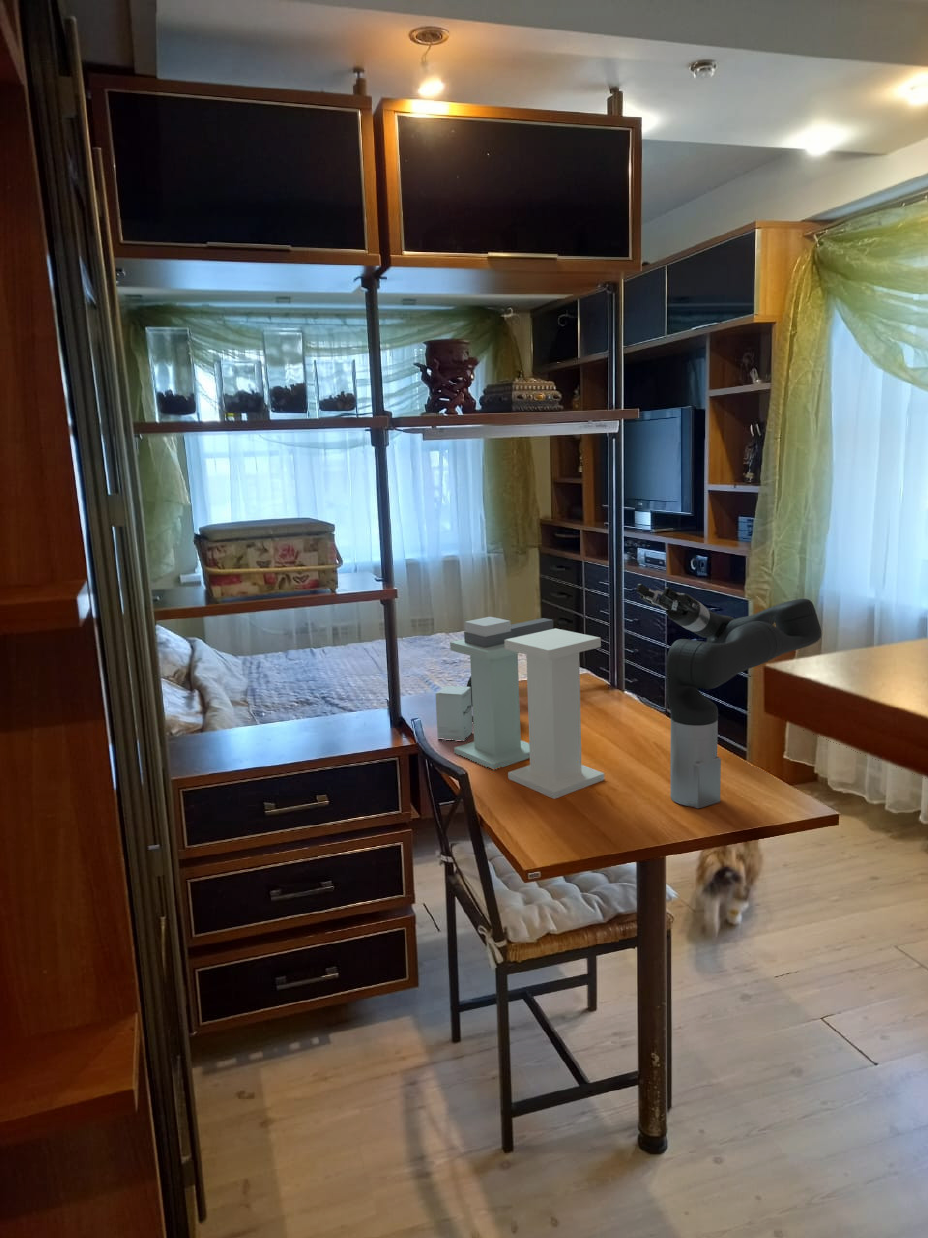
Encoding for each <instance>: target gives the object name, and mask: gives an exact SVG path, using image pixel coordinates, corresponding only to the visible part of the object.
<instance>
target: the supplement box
mask: <svg viewBox="0 0 928 1238" xmlns="http://www.w3.org/2000/svg"><path fill="white" fill-rule="evenodd" d="M434 694H435V711H436V713H435V715H436V728H437V729H436V734H437V736H436V737H437V739H438V738H444V739H451V740H452V739H453V740H461V741H463V740H464V741H466V739H467V738H469V736H471V735H472V734H473V733H474V728H473V724H472V716H473V707H472V703H471V687H466V686H460V685H459V686H457V685H444V686H443V687H442V688H440V689H439V690H438V691H436V692H435V693H434ZM472 732H473V733H472ZM471 733H472V734H471ZM466 737H467V738H466ZM465 738H466V739H465Z"/></svg>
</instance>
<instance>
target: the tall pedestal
mask: <svg viewBox="0 0 928 1238" xmlns="http://www.w3.org/2000/svg"><path fill="white" fill-rule="evenodd" d="M601 641H602V638H601V637H599V636H594V635H590V634H583V633H580V632H575V631H570V630H566V629H560V628H556V627H555V628H553V629H551V630H546V631H542V632H537V633H533V634H528V635H524V636H519V637H515V638H510V639H506V640H504V642H505V649H507V650H511V651H515V652H519V653H518V654H524V655H526V683H527V685H526V686H527V712H528V713H527V714H528V741H529V742H528V743H529V749H530V758H529V765H526V766H525V765H524V766H523V767H520V768H517V769H513V770H511V771H508V773H507V777H508V780H509V781H513V782H515V783H517V784H519V785H522V786H524V787H526V788H528V789H531V790H532V791H535V792H538V793H540V794H542V795H543V796H547V797H548V798H551V799H554V800H555V799H559V798H560V797H563V796H566V795H568V794H571V793H575V792H576V791H579V790H581V789H584V788H586V787H589V786H592V785H594V784H597V783H599V782H602V781H604V780H605V773H604V772H602V771H599V770H598V769H594V768H592V767H588V766H586V765H584V764H582V735H581V734H582V733H581V732H582V731H581V730H582V728H581V727H582V724H581V723H582V722H581V719H582V718H581V683H580V682H581V681H580V680H581V677H580V676H581V675H580V673H581V672H580V653H582V652H585V651H589V650H594V649H599V648H601V647H602V643H601Z"/></svg>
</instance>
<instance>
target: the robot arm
mask: <svg viewBox="0 0 928 1238" xmlns="http://www.w3.org/2000/svg"><path fill="white" fill-rule="evenodd" d="M635 592H636V593H637V594H639V599H641V600H643V601H644V602H646V603H647V604H649V605H651V606H653V607H656V606H658V607H660V608H661V609H663V610H665V612H666V613H665V614H666V615H667V617H668V618H669V620H671V621H672V622H674V623H676V624H677V625H679V626H681V628H684V629H685V630H688V631H690V632H692V633H694V634H696V635H697V636H699V637H701V638H704V639H705V638H706V641H700V640H696V639H694V640H693V639H689V638H688V639H687V638H679V639H677V640H675V641H674V642H673V643H672V644H671V646H670V647H669V650H668V651H667V655H666V666H665V669H666V671H665V672H666V674H665V675H666V676H665V677H666V691H667V692H666V693H667V704H668V708H669V710H670V711H669V712H670V774H669V775H670V799H671V800H672V802H675V803H676V804H680V805H682V806H684V807H685V806H686V807H693V808H695V809H701V808H704V807H707V806H711V805H714V804H715V805H716V804H719V803H720V802H721V778H722V777H721V775H722V774H721V770H722V768H721V767H722V765H721V764H722V759H721V757H720V756H718V735H719V734H718V727H719V725H718V723H719V721H718V720H719V709H718V706H717V705H716V703H715V702H713V701H712V700H710V699H709V698H708V697H706V696H705V695H704V694H702V692H701V691H700V690H699V689H702V690H704V689H705V690H712V689H716V688H718V687H720V686H722V685H723V684H725V683H727V682H729V680H731V679H732V678H734V677H735V676H738V674H740V673H743V672H745V671H747V670H750V669H752V668H755V667H758V666H760V665H762V664H766V663H768V662H770V661H772V660H773V659H776V658H778V657H780V656H782V655H784V654H788V653H790V652H791V653H792V652H794V651H796V650H801V649H803V648H807V647H810V646H812V645H814V644H816V643H817V642H819V640H820V639H822V629H821V625H820V621H819V618H818V614H817V611H816V608H815V606H814V603H813V602H812V600H810V599H807V598H798V599H791V600H788V601H786V602H782V603H779V604H776V605H774V606H771V607H768V608H765V609H763V610H761V611H759V612H757V613H754V614H751V615H748V616H741V617H737V618H735V617H733V616H729V615H723V614H718V613H715V612H713V611H711V610H709V609H708V608H707V607H706V606H705V605H704V604H702V603H701V601H700V602H699V601H698V600H696V599H695V598H694V597H692V596H690V595H689V594H687V593H684V592H677V591H675V590H673V589H672V588H671V587H667V586H666V587H664V590H663V591H661V590H659V589H658V590H657V589H656V590H653V589H651V588H649V587H647V586H646V585H644V584H642V583H638V584H637V586H636V589H635ZM658 595H659V596H658Z"/></svg>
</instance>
